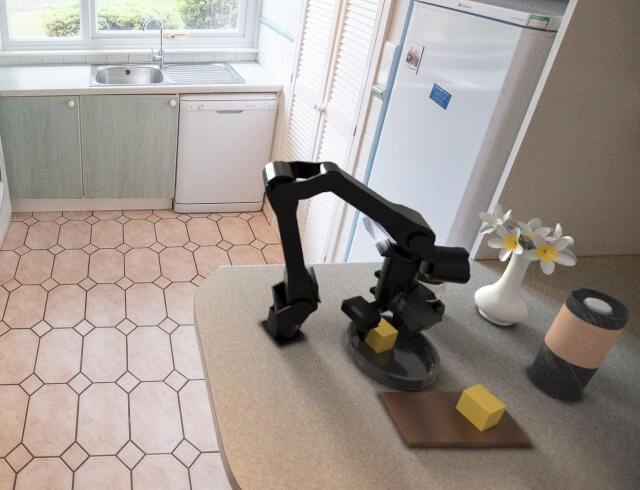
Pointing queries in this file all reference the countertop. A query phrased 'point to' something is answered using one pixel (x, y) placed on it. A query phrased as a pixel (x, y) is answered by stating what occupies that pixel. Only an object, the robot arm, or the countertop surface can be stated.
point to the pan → (396, 358)
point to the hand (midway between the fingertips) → (378, 333)
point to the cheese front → (480, 407)
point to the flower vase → (518, 263)
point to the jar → (432, 285)
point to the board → (446, 422)
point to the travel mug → (578, 342)
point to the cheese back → (382, 337)
